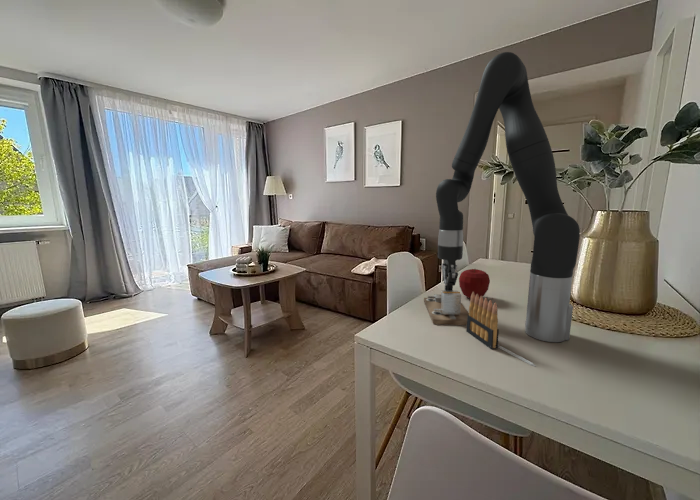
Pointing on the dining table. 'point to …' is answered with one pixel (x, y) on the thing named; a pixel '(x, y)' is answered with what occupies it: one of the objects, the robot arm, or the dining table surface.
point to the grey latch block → (450, 302)
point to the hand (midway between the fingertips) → (448, 296)
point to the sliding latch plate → (441, 318)
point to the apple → (474, 282)
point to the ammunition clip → (483, 321)
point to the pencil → (516, 355)
